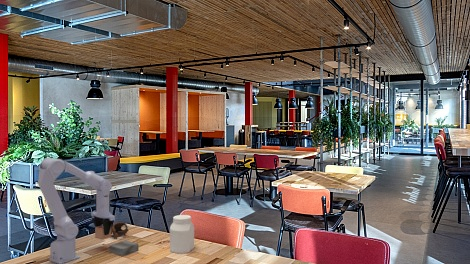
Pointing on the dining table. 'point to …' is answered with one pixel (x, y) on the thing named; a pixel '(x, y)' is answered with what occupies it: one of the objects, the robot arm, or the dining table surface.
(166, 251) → the dining table surface
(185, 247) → the jar
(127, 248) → the grey base block
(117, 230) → the pottery mug
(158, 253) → the dining table surface
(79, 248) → the dining table surface
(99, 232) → the terracotta block
